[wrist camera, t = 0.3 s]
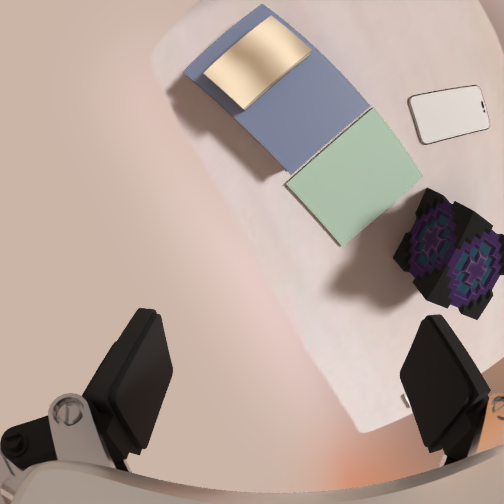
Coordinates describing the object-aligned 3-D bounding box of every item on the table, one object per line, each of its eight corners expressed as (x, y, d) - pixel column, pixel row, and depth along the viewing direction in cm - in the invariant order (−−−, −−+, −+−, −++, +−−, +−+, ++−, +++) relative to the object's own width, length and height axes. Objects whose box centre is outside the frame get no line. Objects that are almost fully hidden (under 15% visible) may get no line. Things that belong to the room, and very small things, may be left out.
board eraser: (271, 24, 25) (271, 15, 22) (308, 56, 26) (312, 50, 23) (209, 78, 28) (203, 73, 25) (245, 111, 29) (243, 108, 27)
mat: (372, 107, 31) (374, 107, 31) (421, 176, 34) (423, 176, 34) (285, 183, 37) (285, 184, 36) (341, 245, 40) (342, 246, 39)
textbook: (263, 15, 27) (262, 3, 23) (360, 108, 32) (370, 106, 28) (191, 77, 31) (182, 72, 28) (288, 170, 36) (291, 174, 32)
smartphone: (407, 96, 30) (479, 84, 26) (404, 97, 31) (475, 84, 27) (422, 146, 32) (491, 128, 29) (419, 145, 33) (487, 128, 30)
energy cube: (474, 219, 36) (518, 247, 25) (442, 279, 41) (477, 320, 30) (426, 187, 35) (474, 211, 24) (392, 257, 40) (426, 300, 29)
